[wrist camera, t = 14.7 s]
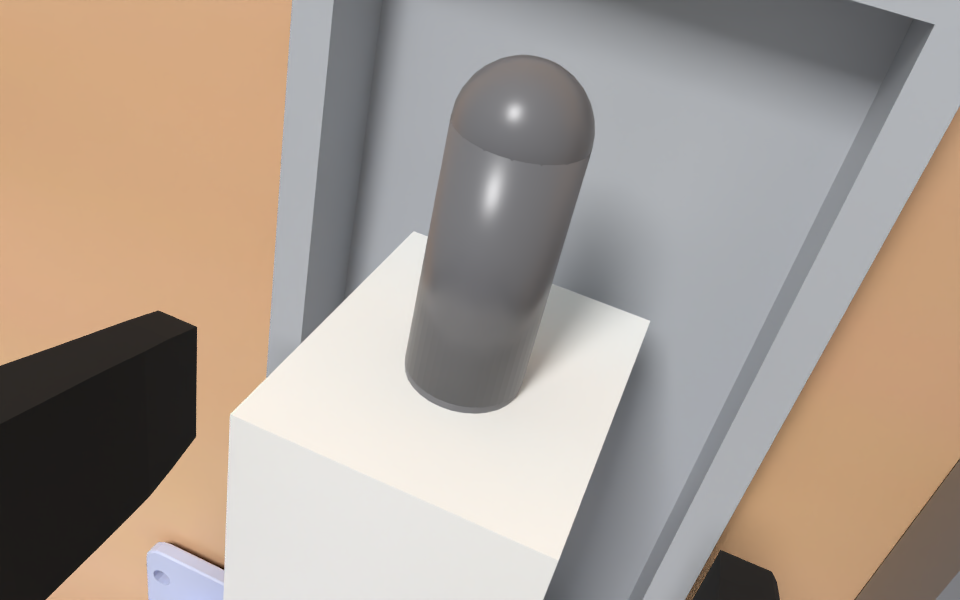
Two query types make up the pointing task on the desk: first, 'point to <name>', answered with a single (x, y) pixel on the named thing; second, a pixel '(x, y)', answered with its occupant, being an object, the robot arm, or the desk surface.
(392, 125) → the tray
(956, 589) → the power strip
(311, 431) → the plug
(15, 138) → the desk surface
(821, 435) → the desk surface
